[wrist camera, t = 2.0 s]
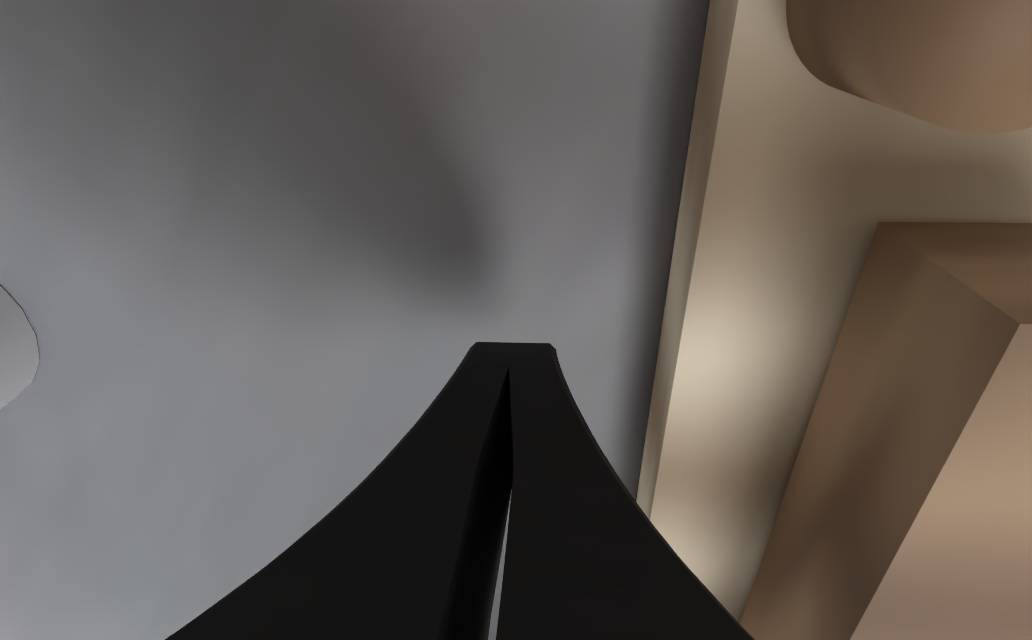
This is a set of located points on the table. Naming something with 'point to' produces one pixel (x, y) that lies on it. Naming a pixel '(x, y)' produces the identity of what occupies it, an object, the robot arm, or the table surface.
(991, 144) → the board
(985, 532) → the folding leg
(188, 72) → the table surface
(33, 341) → the vase
